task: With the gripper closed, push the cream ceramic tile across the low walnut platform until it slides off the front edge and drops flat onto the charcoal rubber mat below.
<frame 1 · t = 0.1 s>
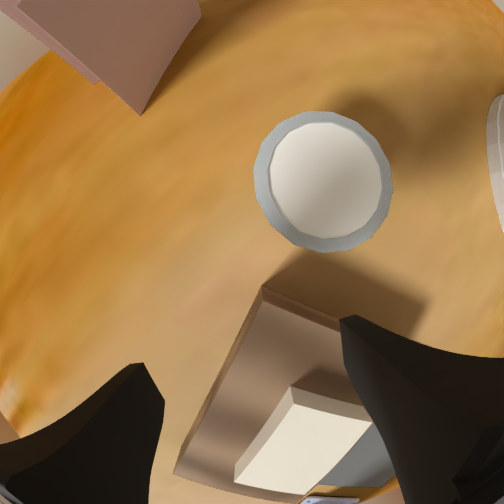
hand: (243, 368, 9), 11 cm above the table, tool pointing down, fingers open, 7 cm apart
greeting card: (159, 64, 18), on the table
white cup: (302, 194, 19), on the table
tile: (298, 449, 15), point 5 cm above the table, touching platform
platform: (280, 407, 20), on the table
mat: (390, 431, 21), on the table
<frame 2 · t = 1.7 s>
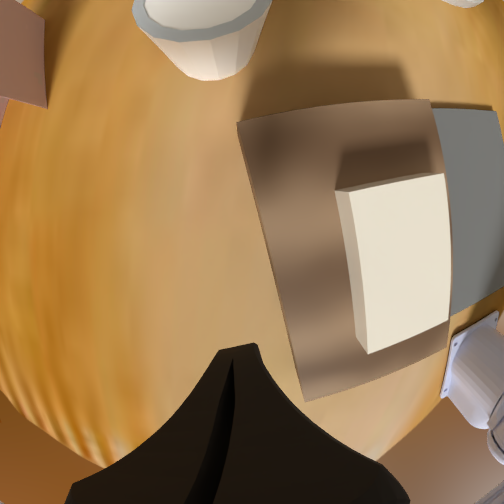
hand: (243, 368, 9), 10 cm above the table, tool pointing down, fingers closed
greeting card: (37, 69, 14), on the table
white cup: (213, 48, 15), on the table
tile: (402, 262, 14), point 5 cm above the table, touching platform
platform: (354, 245, 19), on the table
mat: (473, 211, 18), on the table
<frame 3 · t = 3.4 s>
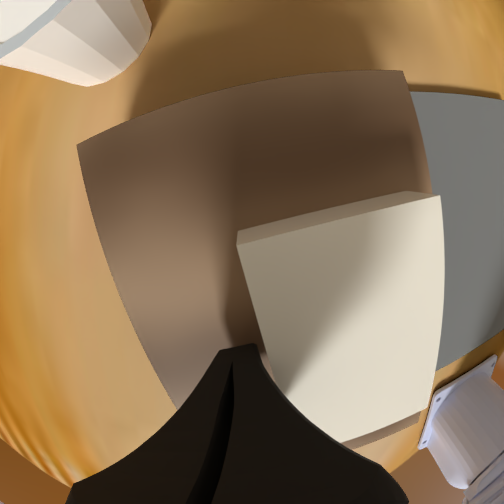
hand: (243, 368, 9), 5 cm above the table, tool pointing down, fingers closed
white cup: (105, 43, 10), on the table
tile: (357, 341, 9), point 5 cm above the table, touching gripper
platform: (287, 297, 14), on the table
mat: (473, 237, 13), on the table
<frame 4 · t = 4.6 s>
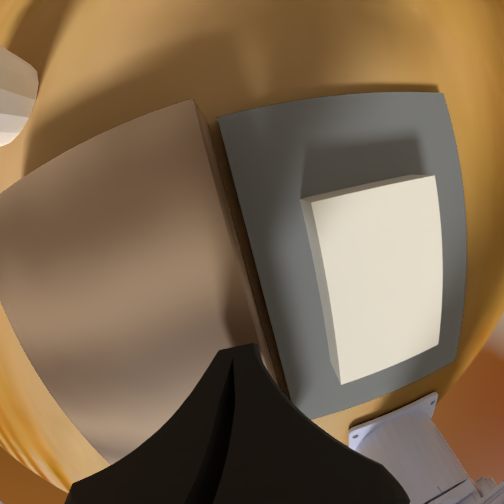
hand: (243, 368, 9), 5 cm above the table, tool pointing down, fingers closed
white cup: (12, 104, 10), on the table
tile: (383, 281, 12), point 2 cm above the table, tilted 180°, touching mat
platform: (147, 328, 14), on the table
mat: (380, 270, 13), on the table
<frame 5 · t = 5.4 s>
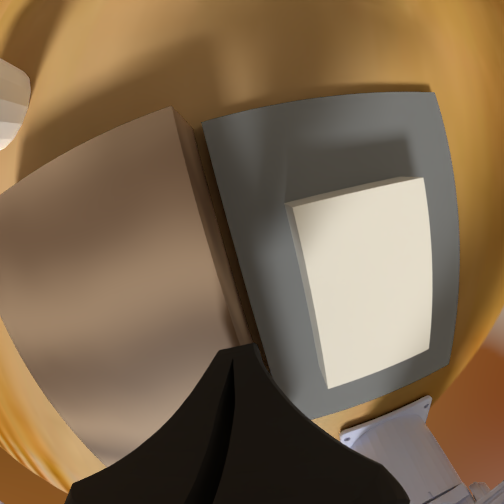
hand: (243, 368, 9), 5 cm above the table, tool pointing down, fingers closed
white cup: (5, 110, 10), on the table
tile: (370, 286, 12), point 2 cm above the table, tilted 180°, touching mat
platform: (137, 331, 14), on the table
mat: (369, 274, 13), on the table
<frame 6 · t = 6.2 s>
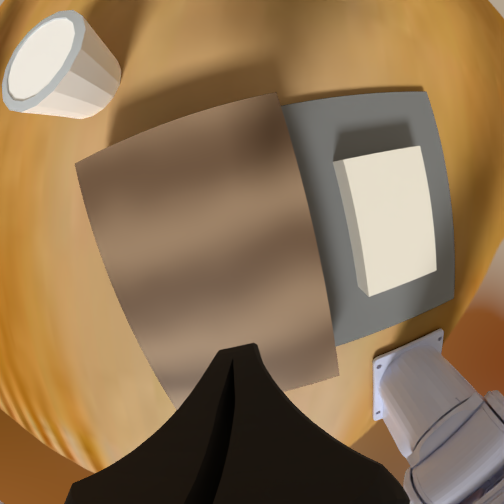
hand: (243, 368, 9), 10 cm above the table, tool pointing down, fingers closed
white cup: (91, 85, 15), on the table
tile: (391, 218, 17), point 2 cm above the table, tilted 180°, touching mat
platform: (218, 262, 19), on the table
mat: (388, 215, 18), on the table
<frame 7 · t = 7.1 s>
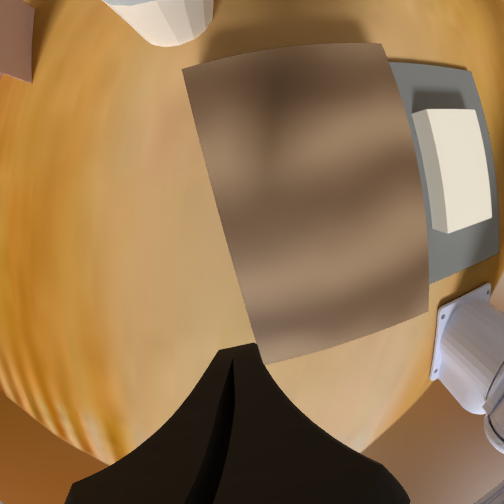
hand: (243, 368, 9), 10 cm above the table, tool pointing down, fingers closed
greeting card: (26, 51, 13), on the table
white cup: (176, 19, 14), on the table
tile: (458, 167, 16), point 2 cm above the table, tilted 180°, touching mat
platform: (314, 195, 18), on the table
mat: (451, 168, 18), on the table
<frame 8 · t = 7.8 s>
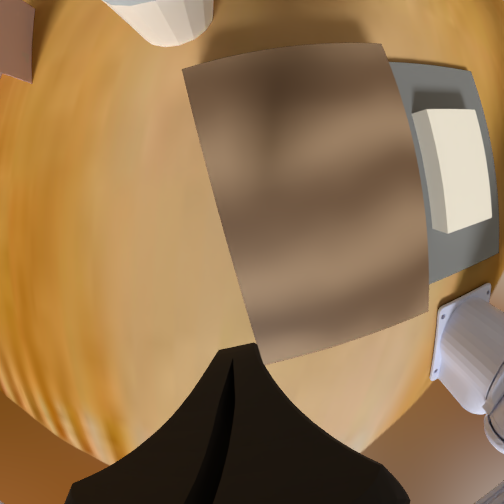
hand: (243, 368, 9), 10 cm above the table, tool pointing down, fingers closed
greeting card: (26, 51, 13), on the table
white cup: (176, 19, 14), on the table
tile: (458, 167, 16), point 2 cm above the table, tilted 180°, touching mat
platform: (314, 195, 18), on the table
mat: (451, 168, 18), on the table
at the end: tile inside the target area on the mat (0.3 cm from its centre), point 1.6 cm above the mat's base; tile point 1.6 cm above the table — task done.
